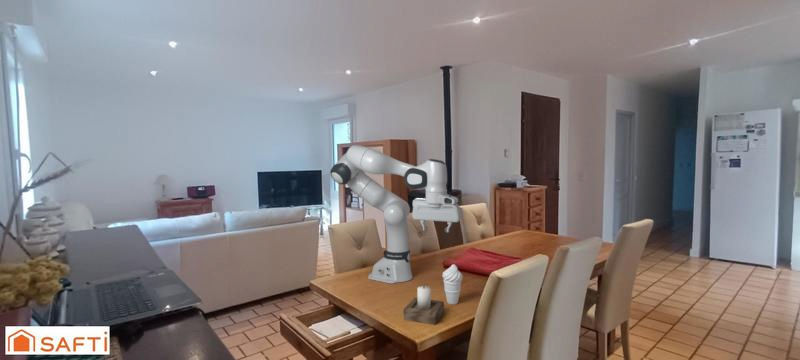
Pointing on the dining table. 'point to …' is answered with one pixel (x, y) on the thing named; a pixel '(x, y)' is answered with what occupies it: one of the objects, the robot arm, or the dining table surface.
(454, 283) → the soft serve ice cream cone
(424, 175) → the robot arm
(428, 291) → the white wax pillar
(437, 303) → the holder
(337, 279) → the dining table surface
